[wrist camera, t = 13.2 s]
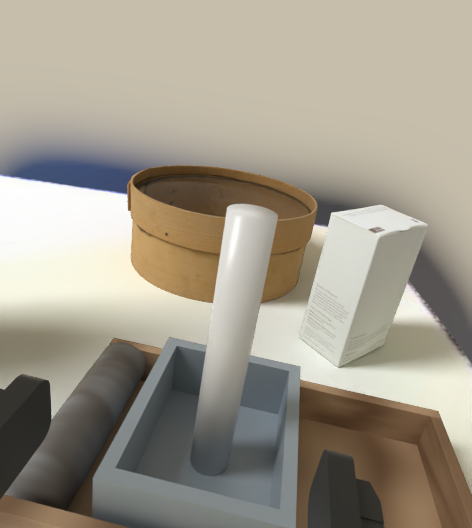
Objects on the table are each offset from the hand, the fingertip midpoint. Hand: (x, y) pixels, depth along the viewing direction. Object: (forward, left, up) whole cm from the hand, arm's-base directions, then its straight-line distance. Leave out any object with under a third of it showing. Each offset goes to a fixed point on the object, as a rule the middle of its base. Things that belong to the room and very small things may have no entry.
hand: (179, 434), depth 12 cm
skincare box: (-19, +27, -16) cm, 36 cm away
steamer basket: (-41, +22, -16) cm, 49 cm away
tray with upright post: (-9, +6, -14) cm, 18 cm away
